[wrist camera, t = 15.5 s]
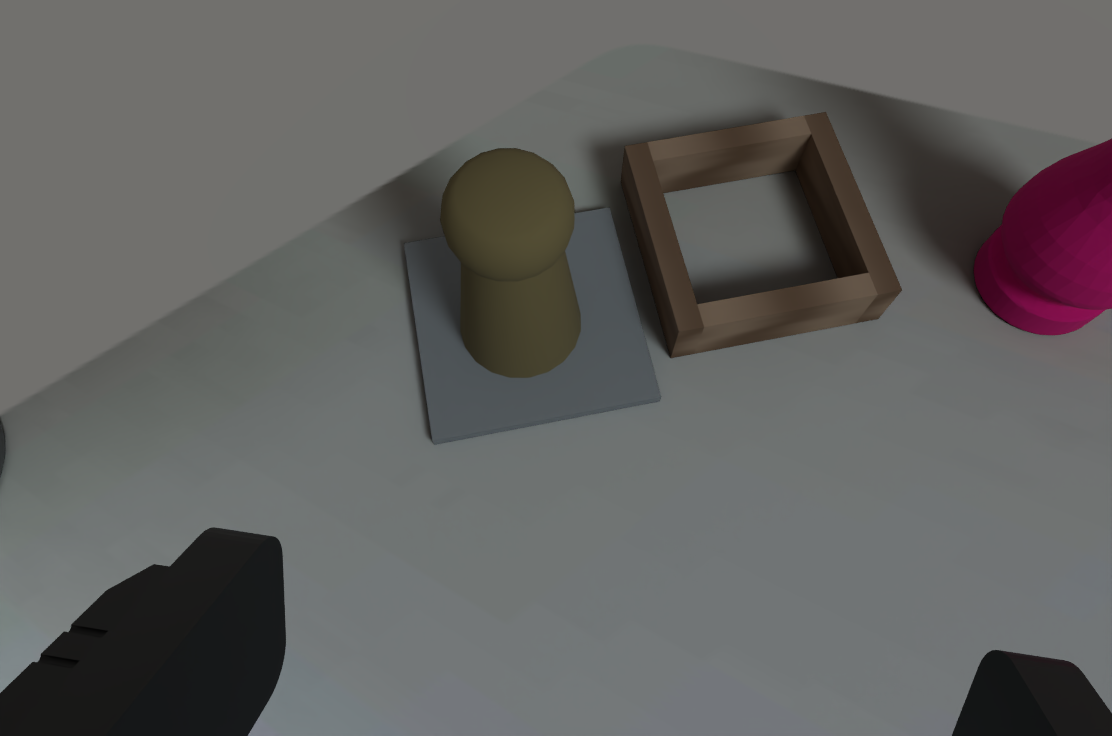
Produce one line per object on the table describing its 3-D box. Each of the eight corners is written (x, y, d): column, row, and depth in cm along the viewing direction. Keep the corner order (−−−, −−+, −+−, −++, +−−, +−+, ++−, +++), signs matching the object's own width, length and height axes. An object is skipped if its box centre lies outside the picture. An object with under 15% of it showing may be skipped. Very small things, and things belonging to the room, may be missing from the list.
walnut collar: (670, 357, 38) (678, 331, 36) (620, 181, 43) (624, 145, 40) (878, 318, 39) (902, 290, 36) (809, 149, 43) (825, 112, 41)
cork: (440, 299, 39) (397, 159, 29) (547, 251, 40) (541, 100, 30) (491, 398, 37) (463, 284, 27) (603, 346, 38) (616, 217, 28)
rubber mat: (434, 444, 37) (432, 441, 36) (406, 249, 41) (404, 243, 40) (659, 401, 37) (661, 396, 37) (608, 213, 42) (609, 207, 41)
